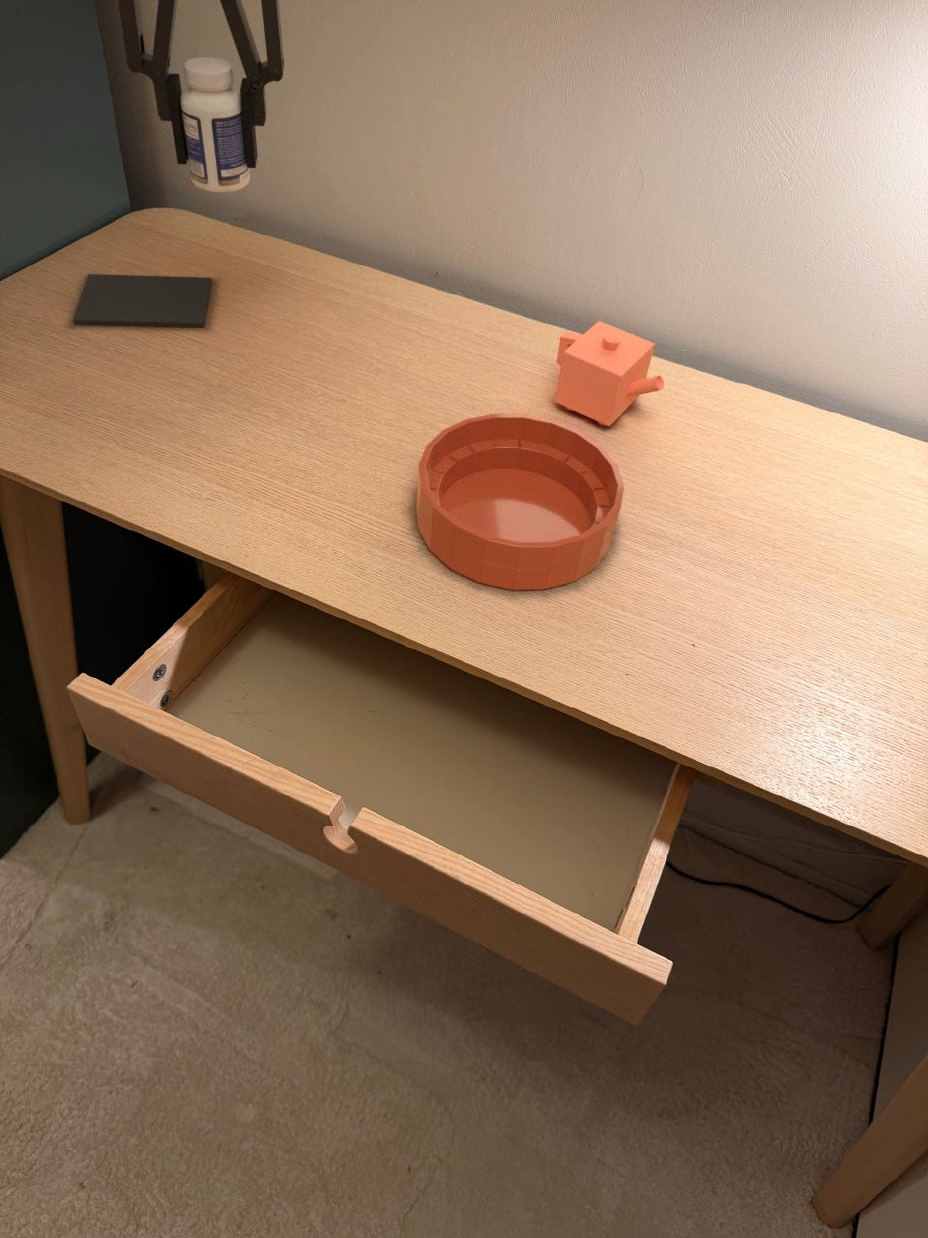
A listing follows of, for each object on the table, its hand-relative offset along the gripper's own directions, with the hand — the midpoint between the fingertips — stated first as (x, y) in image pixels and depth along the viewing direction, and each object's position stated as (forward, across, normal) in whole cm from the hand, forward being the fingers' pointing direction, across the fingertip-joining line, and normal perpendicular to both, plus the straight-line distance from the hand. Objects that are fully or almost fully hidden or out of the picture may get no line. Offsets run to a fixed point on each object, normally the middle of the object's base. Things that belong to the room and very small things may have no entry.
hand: (218, 159), depth 83 cm
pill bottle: (+2, 0, 0) cm, 2 cm away
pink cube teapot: (+21, -39, +7) cm, 45 cm away
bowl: (+21, -27, +26) cm, 43 cm away
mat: (+21, +12, -11) cm, 26 cm away
